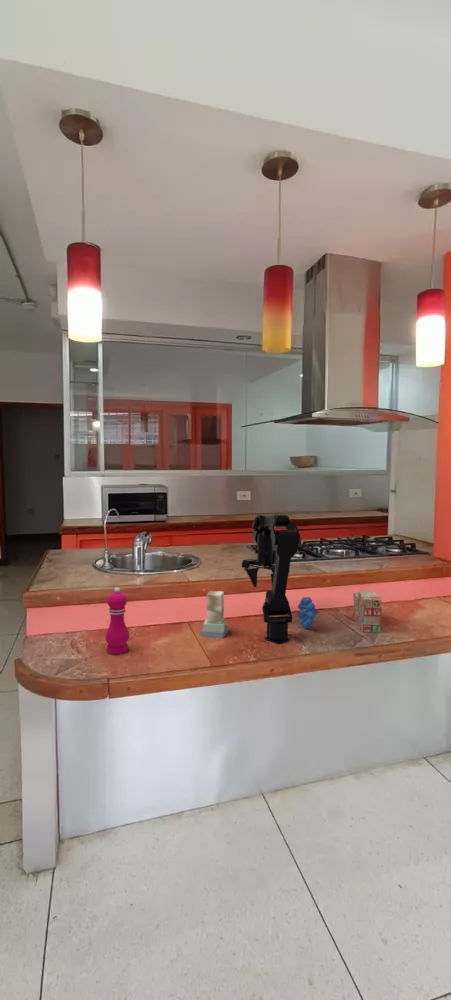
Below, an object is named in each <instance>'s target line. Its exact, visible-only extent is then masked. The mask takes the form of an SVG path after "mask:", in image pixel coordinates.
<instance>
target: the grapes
mask: <svg viewBox="0 0 451 1000" xmlns="http://www.w3.org/2000/svg"><path fill="white" fill-rule="evenodd" d="M299 602H300V603H298V606H297V609H299V611H298V612H297V617H299V619H300V620H299V624H300V625H301V626H302V627H303V628H304V629H305V630H309V629H310V628H311V627H313V625H314V624H315V621H314V619H315V618H316V616H317V614H318V610H317V609H316V605H315V604H314V602H313V599H312V598H311V597H309V596H307V597H306V596H304V597H302V598H301V599H300V601H299Z"/></svg>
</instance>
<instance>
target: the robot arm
mask: <svg viewBox="0 0 451 1000" xmlns="http://www.w3.org/2000/svg"><path fill="white" fill-rule="evenodd" d="M276 528H285V529H286V530H275V529H276ZM251 529H252V533H251V535H250V536H251V540H252V542H253V543H255V544H257V549H255V550H254V553H255V554H257V556H256V557H257V559H256V558H246V559H243V560H242V561H241V568H243V570H244V571H245V572H246V574H247V575H248V577H249V580H250V581H251V584H252V585H253V587H254V588H257V585H258V572H259V569H263V570H270V571H271V573H270V580H271V590H266V592H265V599H264V602H263V604H262V607H261V609H262V615H263V623H266V636H265V637H264V640H267V641H270V642H273V643H276V644H282V643H284V642H285V643H286V642H287V641H291V637H289V634H288V633H289V623H291V624H292V623H293V614H292V610H291V606H290V601H289V600H288V596H287V595H286V593H287V588H288V587H287V585H288V581H289V580H288V579H289V573H290V567H291V562H292V558H293V557H294V556H295V555H296V554H297V553H298V550H299V546H300V544H301V539H302V538H301V534H300V531H299V528H298V526H297V525H296V524H294V523H293V522H292V521H291V520H290V518H289V515H287V514H274V513H257V514H256V516H255V517H254V519H253V523H252V526H251Z"/></svg>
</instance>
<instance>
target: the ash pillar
mask: <svg viewBox="0 0 451 1000" xmlns="http://www.w3.org/2000/svg"><path fill="white" fill-rule="evenodd" d="M224 597H225V592H224V591H222V590H221V591H219V590H209V591H208V593H206V618H207V623H210V624H221V623H222V622H223V620H224V618H225V617H224V615H225V611H224V610H225V608H224V607H225V605H224V604H225V601H224V600H225V599H224Z"/></svg>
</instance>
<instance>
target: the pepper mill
mask: <svg viewBox="0 0 451 1000" xmlns="http://www.w3.org/2000/svg"><path fill="white" fill-rule="evenodd" d="M106 600H107V603H106V604H107V605H108V607H109V608H108V610H109V612H108V613H109V614H110V622H109V624H108V625H109V626H108V628H107V630H106V632H105V636H104V637H105V641H106V643H108V644H107V645H106V652H107V653H108V654H110V655H121V654H124V653H125V654H126V652H127V651H128V645H129V644H128V643H127V642H128V641H129V638H130V634H129V633H130V632H129V629H128V627H127V625H126V623H125V622H126V621H125V617H124V616H125V614H126V607H125V606H126V605H127V604H128V599H127V596H126V594H125V593H123V592H122V591H121V589H120V587H115V588H114V591H113V593H111V594H109V595H108V597H107V599H106Z"/></svg>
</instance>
